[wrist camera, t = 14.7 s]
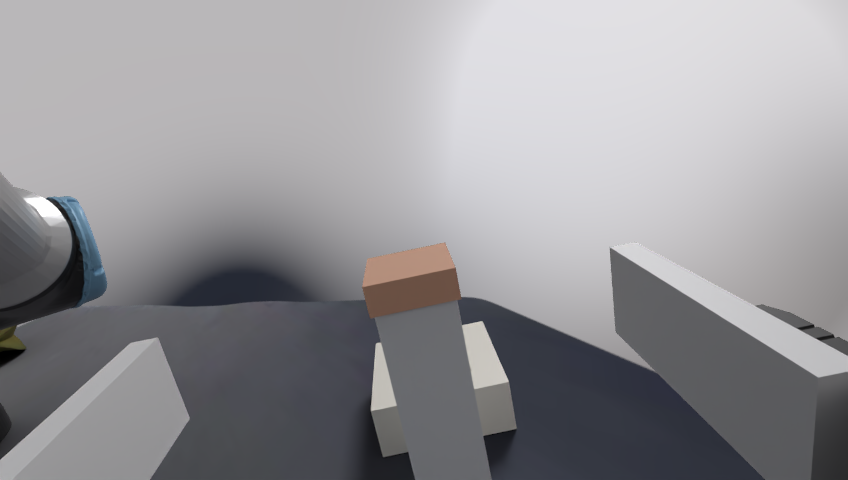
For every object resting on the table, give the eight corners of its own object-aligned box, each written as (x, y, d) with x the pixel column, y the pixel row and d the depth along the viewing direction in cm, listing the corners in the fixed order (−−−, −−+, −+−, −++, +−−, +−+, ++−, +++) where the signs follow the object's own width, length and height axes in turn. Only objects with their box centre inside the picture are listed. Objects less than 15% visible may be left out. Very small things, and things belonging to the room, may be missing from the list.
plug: (429, 553, 25) (362, 287, 21) (424, 491, 29) (367, 258, 25) (506, 536, 25) (455, 267, 21) (490, 476, 30) (445, 242, 25)
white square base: (382, 457, 33) (370, 411, 32) (385, 381, 43) (375, 343, 42) (516, 428, 33) (508, 381, 32) (488, 359, 43) (482, 321, 42)
